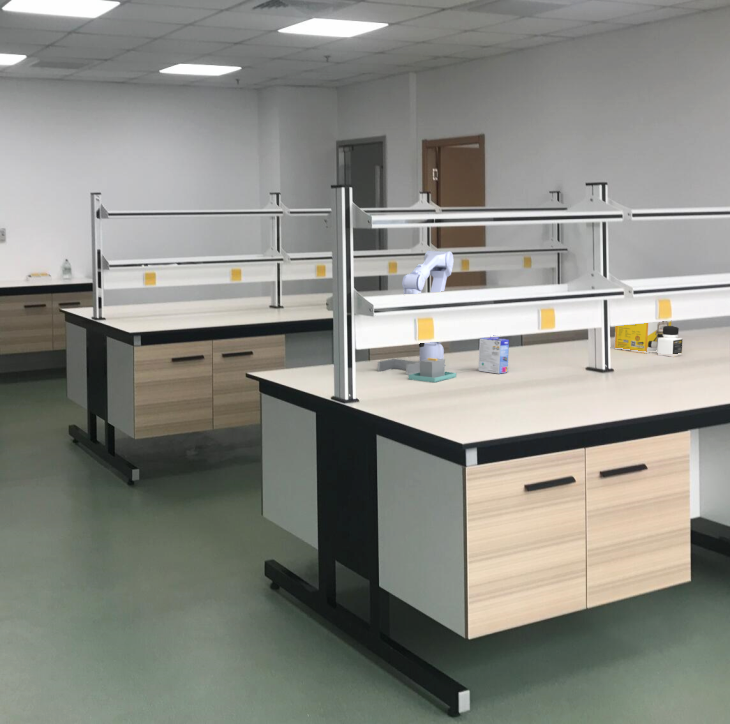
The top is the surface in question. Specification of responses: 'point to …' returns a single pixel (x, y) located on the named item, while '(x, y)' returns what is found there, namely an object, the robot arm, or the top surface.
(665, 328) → the medicine bottle
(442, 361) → the toner caddy
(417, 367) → the printer bay
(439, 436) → the top surface
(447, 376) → the teal tray
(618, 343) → the packaging box
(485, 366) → the ink cartridge box
